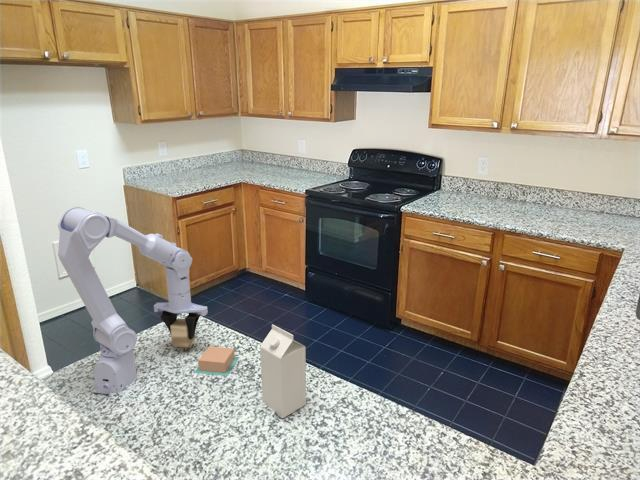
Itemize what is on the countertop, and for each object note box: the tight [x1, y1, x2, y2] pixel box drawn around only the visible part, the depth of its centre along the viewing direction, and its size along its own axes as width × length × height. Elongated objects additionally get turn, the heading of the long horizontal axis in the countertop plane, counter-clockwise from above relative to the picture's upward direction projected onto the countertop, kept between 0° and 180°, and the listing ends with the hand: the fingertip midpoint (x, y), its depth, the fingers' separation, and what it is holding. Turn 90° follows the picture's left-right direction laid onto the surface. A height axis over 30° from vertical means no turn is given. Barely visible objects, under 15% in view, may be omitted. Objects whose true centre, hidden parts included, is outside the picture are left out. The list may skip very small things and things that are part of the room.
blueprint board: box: [193, 356, 240, 377], centre depth 118 cm, size 14×12×1 cm
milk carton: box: [259, 324, 307, 419], centre depth 100 cm, size 7×7×19 cm
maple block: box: [170, 317, 196, 348], centre depth 124 cm, size 4×4×6 cm
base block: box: [197, 346, 236, 373], centre depth 117 cm, size 7×7×3 cm
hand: (183, 336), depth 124 cm, fingers closed on maple block, 4 cm apart
